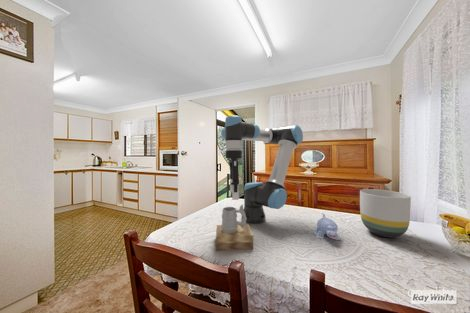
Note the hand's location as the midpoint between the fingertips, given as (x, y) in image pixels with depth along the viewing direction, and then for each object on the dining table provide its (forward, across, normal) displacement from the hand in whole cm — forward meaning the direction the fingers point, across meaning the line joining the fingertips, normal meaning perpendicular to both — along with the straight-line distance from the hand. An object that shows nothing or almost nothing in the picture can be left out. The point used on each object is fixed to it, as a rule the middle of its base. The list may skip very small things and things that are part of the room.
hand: (234, 195), depth 80 cm
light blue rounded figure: (+23, -1, +46) cm, 52 cm away
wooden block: (+22, 0, 0) cm, 22 cm away
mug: (+16, +1, 0) cm, 16 cm away
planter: (+23, -1, +76) cm, 80 cm away
